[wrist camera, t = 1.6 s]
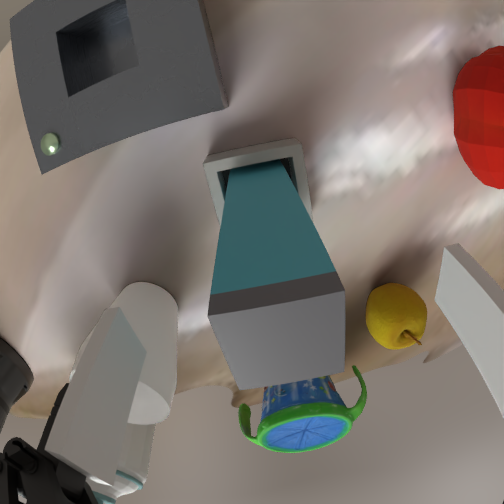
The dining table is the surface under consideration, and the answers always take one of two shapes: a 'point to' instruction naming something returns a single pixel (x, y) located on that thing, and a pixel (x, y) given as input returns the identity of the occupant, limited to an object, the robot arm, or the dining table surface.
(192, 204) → the dining table surface
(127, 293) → the cup
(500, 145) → the tomato
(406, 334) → the apple
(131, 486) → the soap bottle
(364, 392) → the snack cup
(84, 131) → the port
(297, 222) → the plug
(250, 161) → the holster
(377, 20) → the dining table surface
